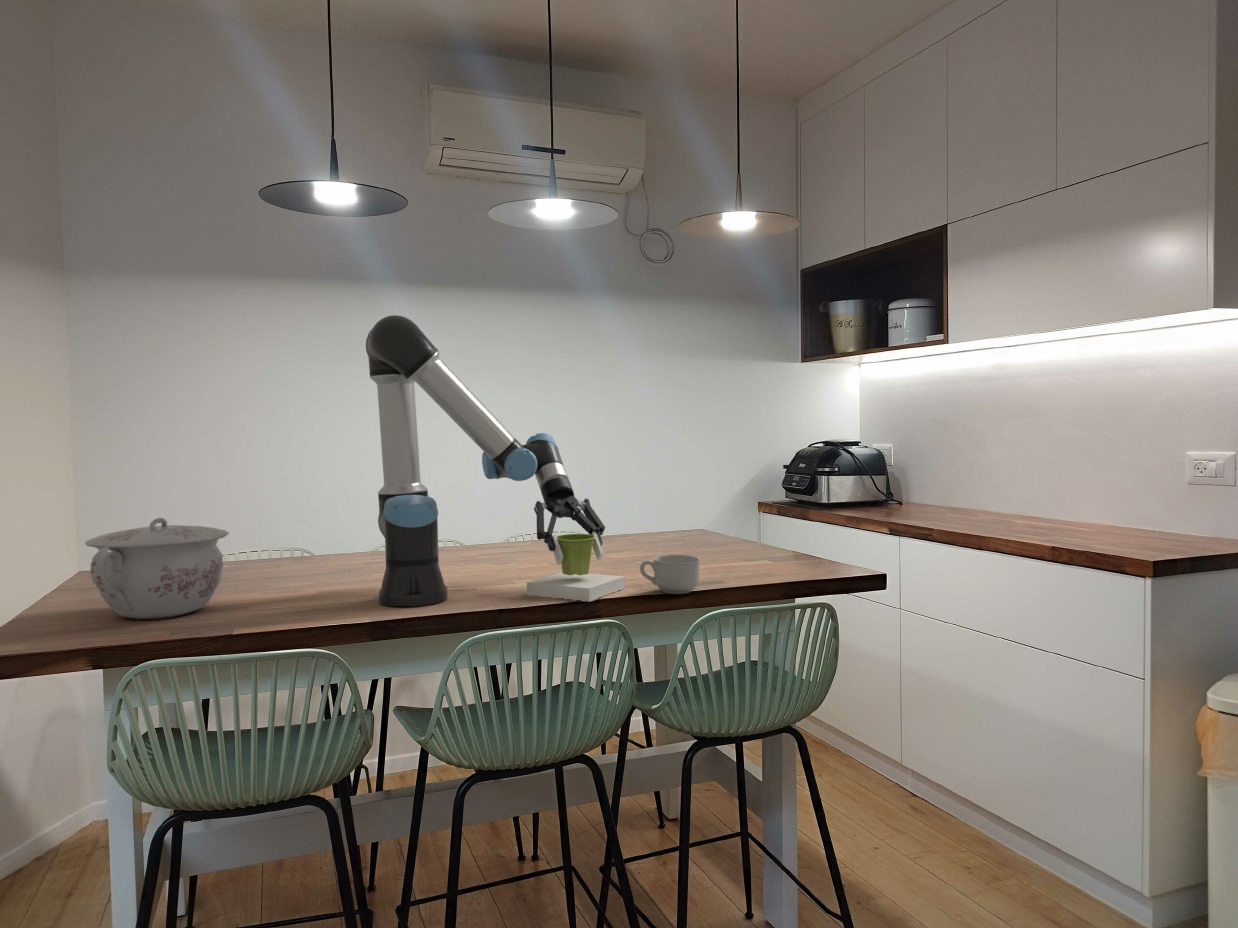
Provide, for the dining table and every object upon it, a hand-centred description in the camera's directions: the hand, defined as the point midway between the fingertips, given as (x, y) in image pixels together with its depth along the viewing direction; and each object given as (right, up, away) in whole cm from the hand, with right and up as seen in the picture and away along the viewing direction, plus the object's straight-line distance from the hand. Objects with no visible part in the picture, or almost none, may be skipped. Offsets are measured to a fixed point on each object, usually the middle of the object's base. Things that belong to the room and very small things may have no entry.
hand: (580, 558), depth 200 cm
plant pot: (-1, -4, +3) cm, 5 cm away
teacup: (+21, -8, +2) cm, 22 cm away
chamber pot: (-90, -11, -12) cm, 92 cm away
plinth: (-1, -8, +3) cm, 9 cm away
